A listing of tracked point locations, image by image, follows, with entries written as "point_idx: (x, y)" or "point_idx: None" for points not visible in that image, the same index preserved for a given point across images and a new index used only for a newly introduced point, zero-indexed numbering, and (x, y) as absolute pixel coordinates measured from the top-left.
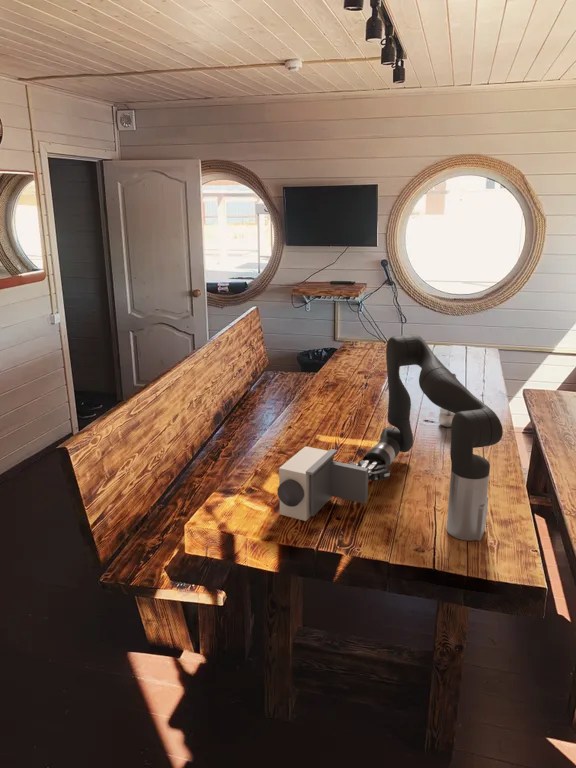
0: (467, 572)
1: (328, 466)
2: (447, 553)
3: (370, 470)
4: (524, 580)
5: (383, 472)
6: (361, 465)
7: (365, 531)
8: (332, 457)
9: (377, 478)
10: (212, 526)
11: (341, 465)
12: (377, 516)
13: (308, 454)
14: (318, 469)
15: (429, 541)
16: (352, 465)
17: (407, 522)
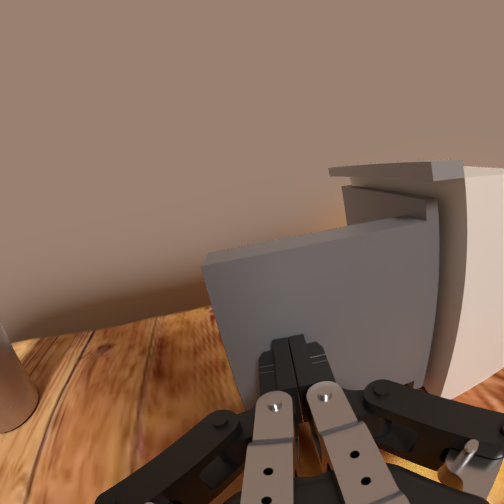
0: (58, 336)
1: (394, 216)
2: (64, 355)
3: (258, 443)
4: (11, 344)
5: (144, 470)
6: (405, 476)
7: (215, 347)
8: (428, 199)
9: (207, 473)
10: None
11: (355, 226)
12: (200, 408)
13: (464, 169)
14: (340, 173)
15: (80, 370)
16: (307, 242)
17: (111, 412)
